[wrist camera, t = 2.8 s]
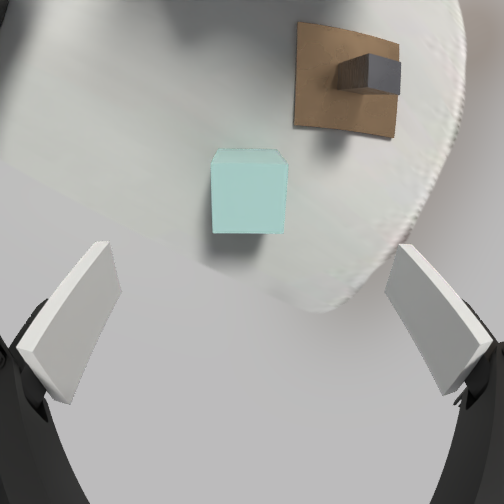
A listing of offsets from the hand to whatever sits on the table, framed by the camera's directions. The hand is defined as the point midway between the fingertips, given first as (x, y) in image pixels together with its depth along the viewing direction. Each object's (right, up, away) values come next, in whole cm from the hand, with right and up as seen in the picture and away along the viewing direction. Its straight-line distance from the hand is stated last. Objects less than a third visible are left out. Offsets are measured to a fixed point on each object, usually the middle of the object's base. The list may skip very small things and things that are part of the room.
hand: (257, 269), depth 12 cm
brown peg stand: (+9, +16, +9) cm, 20 cm away
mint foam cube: (-1, +8, +13) cm, 15 cm away
